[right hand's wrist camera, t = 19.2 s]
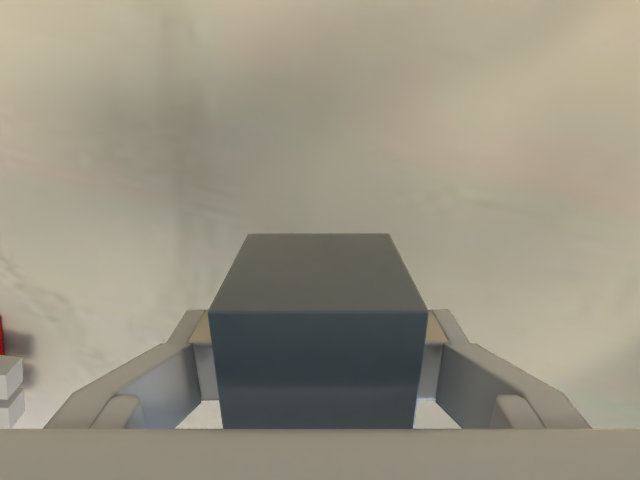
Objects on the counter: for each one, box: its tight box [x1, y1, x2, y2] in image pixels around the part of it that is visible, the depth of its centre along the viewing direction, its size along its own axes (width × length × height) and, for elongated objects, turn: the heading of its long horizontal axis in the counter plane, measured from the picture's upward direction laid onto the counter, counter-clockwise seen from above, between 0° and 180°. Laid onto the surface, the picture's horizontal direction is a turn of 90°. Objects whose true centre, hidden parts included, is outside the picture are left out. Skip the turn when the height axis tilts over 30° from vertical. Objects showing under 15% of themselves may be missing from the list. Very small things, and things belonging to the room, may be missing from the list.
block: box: [207, 234, 429, 429], centre depth 10 cm, size 4×5×4 cm
